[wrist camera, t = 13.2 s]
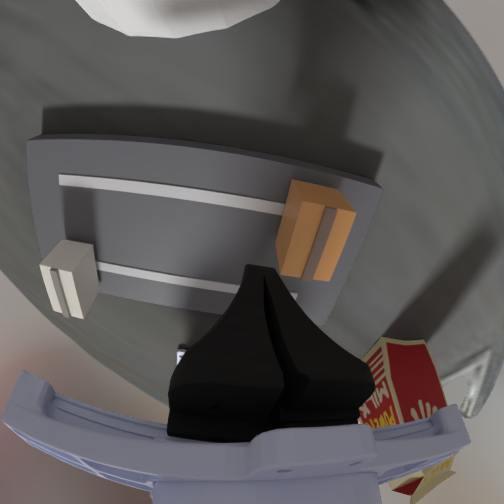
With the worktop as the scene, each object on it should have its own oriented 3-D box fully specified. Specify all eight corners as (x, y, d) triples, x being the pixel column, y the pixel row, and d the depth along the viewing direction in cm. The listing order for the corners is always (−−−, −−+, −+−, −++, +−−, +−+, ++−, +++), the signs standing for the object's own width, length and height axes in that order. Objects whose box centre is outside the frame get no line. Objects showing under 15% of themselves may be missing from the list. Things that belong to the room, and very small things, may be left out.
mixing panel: (319, 310, 26) (323, 326, 24) (56, 267, 23) (47, 279, 21) (372, 179, 19) (384, 189, 17) (41, 134, 16) (25, 140, 14)
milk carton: (342, 380, 33) (370, 518, 16) (378, 335, 28) (431, 499, 11) (393, 379, 34) (427, 496, 17) (430, 338, 29) (484, 469, 13)
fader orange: (317, 249, 19) (330, 284, 16) (275, 242, 19) (280, 278, 15) (337, 189, 17) (358, 215, 13) (292, 179, 16) (303, 203, 13)
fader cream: (100, 290, 21) (82, 322, 18) (71, 283, 20) (52, 313, 17) (92, 244, 18) (69, 275, 15) (62, 239, 18) (37, 266, 15)
